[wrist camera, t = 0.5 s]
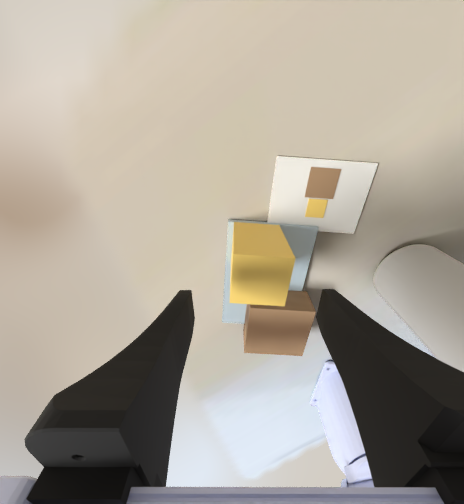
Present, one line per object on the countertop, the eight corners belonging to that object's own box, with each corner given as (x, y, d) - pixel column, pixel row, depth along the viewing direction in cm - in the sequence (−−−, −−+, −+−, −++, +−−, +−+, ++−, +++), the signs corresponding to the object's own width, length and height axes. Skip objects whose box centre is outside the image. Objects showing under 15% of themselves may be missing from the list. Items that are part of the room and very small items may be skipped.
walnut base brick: (295, 333, 26) (302, 355, 23) (243, 330, 26) (244, 352, 23) (306, 291, 23) (316, 312, 20) (248, 287, 23) (250, 308, 20)
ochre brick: (272, 263, 21) (284, 306, 16) (231, 261, 21) (229, 303, 16) (279, 224, 20) (295, 258, 14) (233, 221, 19) (233, 254, 14)
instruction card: (352, 232, 20) (354, 234, 20) (266, 227, 20) (266, 228, 20) (376, 163, 18) (379, 163, 17) (276, 155, 18) (277, 156, 17)
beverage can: (452, 252, 21) (669, 369, 11) (406, 301, 24) (541, 433, 13) (396, 231, 20) (573, 336, 10) (355, 285, 23) (457, 411, 13)
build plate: (291, 322, 26) (292, 326, 25) (222, 318, 26) (222, 322, 25) (316, 225, 20) (318, 227, 20) (228, 219, 20) (228, 221, 19)
